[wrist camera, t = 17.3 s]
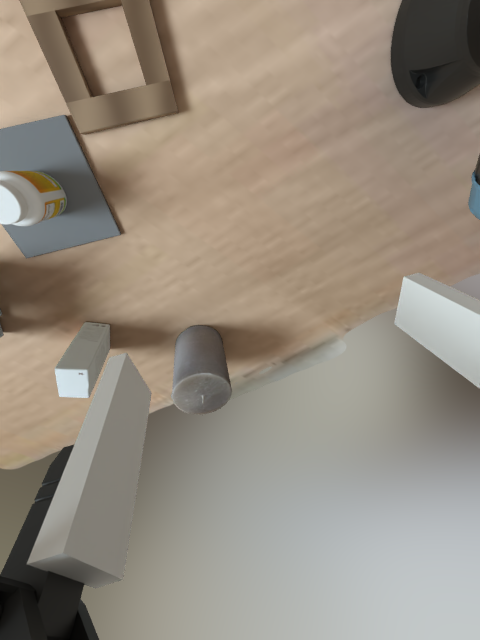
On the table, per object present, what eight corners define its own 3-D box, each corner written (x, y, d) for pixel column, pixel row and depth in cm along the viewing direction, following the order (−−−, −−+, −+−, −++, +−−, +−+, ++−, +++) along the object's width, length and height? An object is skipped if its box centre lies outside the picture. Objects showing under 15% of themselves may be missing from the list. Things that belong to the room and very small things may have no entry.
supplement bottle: (10, 171, 30) (-55, 172, 22) (57, 169, 31) (11, 169, 23) (32, 218, 33) (-18, 234, 25) (74, 214, 34) (39, 229, 26)
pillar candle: (222, 359, 54) (233, 417, 41) (177, 363, 52) (174, 425, 39) (222, 322, 48) (234, 376, 36) (172, 326, 47) (167, 383, 34)
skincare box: (84, 321, 43) (53, 367, 33) (110, 323, 44) (88, 369, 34) (85, 347, 46) (58, 398, 36) (110, 349, 47) (90, 398, 37)
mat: (66, 115, 29) (64, 114, 28) (121, 233, 37) (120, 234, 36) (-54, 142, 28) (-58, 142, 28) (28, 257, 36) (26, 258, 35)
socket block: (137, -44, 24) (135, -55, 23) (178, 113, 30) (178, 110, 29) (14, -20, 23) (5, -30, 22) (83, 134, 30) (79, 133, 29)
